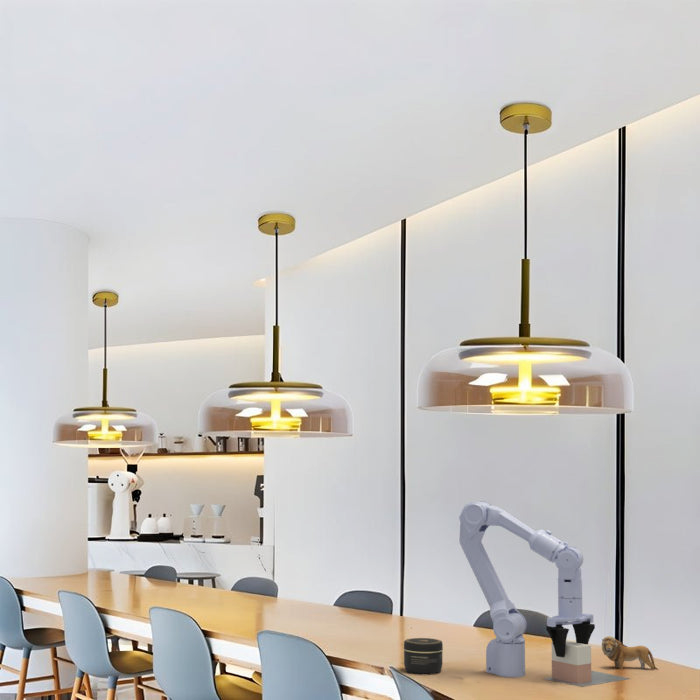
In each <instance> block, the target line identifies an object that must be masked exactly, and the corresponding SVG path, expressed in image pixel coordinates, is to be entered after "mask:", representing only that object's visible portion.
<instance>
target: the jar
mask: <svg viewBox="0 0 700 700" xmlns="http://www.w3.org/2000/svg"><path fill="white" fill-rule="evenodd" d="M443 651H444V649H443V641H442V640H440V639H437V638H429V637H427V638H426V637H413V638H407V639H405V640H404V641H403V663H404V664H403V666H404V669H405V671H406V672H407V673H410V674H413V675H422V674H428V675H432V674H431V673H437V674H439V673H441V672H442V668H443ZM438 672H439V673H438Z"/></svg>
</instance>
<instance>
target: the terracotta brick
mask: <svg viewBox="0 0 700 700" xmlns="http://www.w3.org/2000/svg"><path fill="white" fill-rule="evenodd" d="M591 671H592V662H591V663H590V664H583V665H573V664H568V663H563V662H558V661H553V660H552V659H551V677H552V678H554V679H558V680H563V681H568V682H572V683H577V684H578V683H585V682H591V681H592V680H591Z"/></svg>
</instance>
